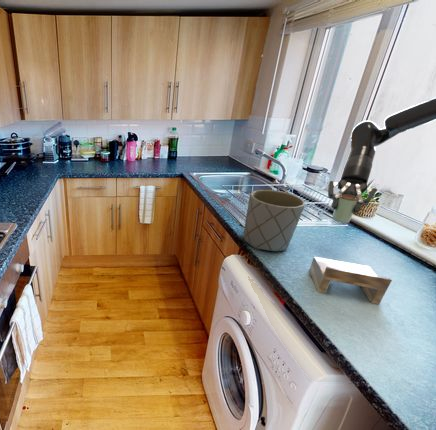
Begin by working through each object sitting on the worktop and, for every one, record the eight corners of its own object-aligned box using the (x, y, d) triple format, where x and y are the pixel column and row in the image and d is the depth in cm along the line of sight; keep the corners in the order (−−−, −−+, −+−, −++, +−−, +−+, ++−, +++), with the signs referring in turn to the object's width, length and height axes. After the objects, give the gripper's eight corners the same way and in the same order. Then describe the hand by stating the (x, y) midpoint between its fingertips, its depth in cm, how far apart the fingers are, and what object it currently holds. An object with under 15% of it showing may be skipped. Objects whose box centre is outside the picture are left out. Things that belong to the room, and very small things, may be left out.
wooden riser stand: (363, 281, 96) (373, 258, 92) (379, 304, 86) (392, 280, 82) (308, 270, 101) (316, 249, 97) (318, 291, 91) (327, 268, 87)
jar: (346, 217, 105) (355, 194, 101) (352, 224, 100) (361, 200, 97) (329, 215, 107) (337, 192, 103) (334, 221, 102) (342, 198, 98)
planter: (276, 232, 127) (288, 190, 119) (300, 255, 110) (316, 208, 102) (233, 231, 128) (242, 188, 119) (250, 254, 110) (262, 206, 102)
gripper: (335, 161, 105) (321, 201, 101) (386, 168, 97) (373, 211, 93) (331, 172, 111) (318, 210, 107) (379, 179, 103) (367, 220, 99)
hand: (344, 210), depth 100 cm, fingers closed on jar, 5 cm apart
